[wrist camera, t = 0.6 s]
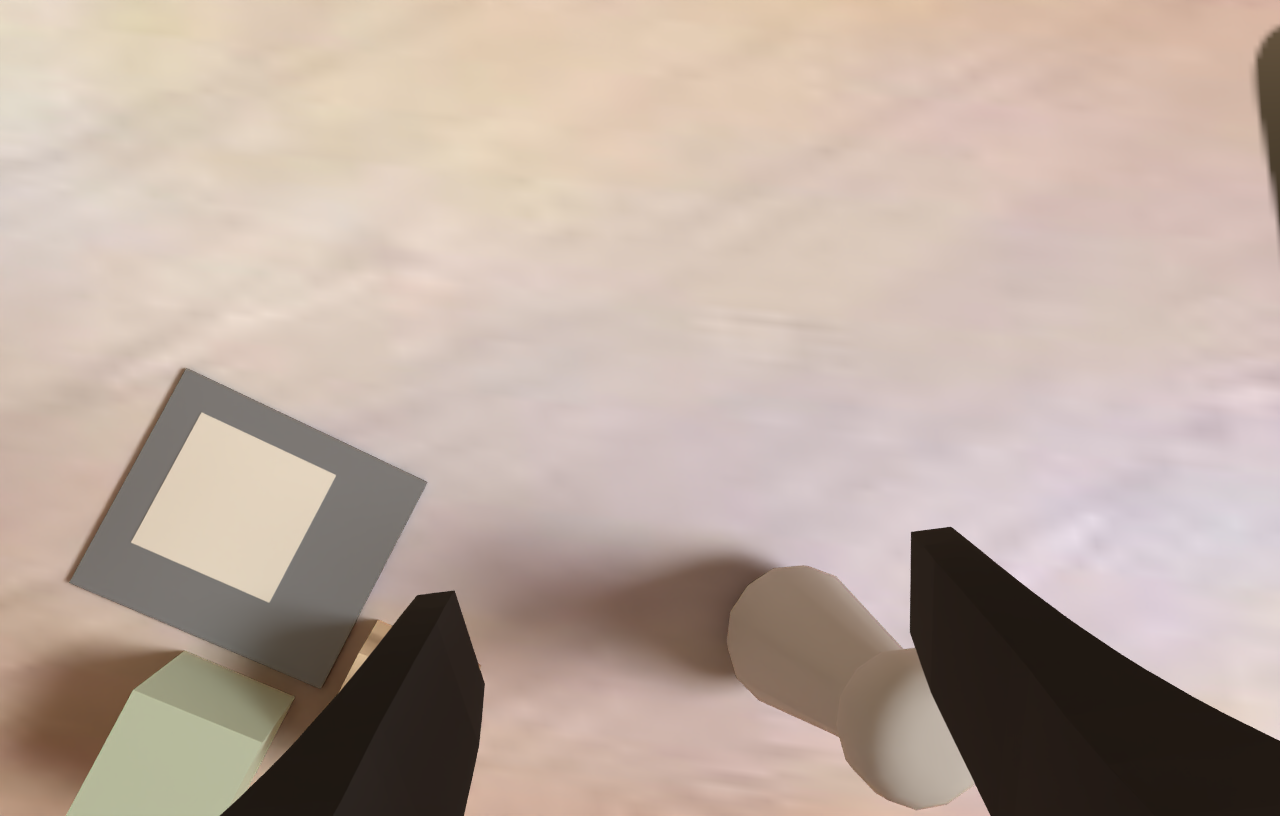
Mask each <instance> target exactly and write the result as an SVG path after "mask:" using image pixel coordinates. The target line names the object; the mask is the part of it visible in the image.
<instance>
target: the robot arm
mask: <svg viewBox="0 0 1280 816" xmlns="http://www.w3.org/2000/svg"><path fill="white" fill-rule="evenodd" d="M910 634H911V637H912V640H913V643H914V646H915V649H916V652H917V655H918V658H919V661H920V664H921V666H922V669H923V672H924V675H925V678H926V680H927V683H928V686H929V689H930V692H931V694H932V696H933V698H934V700H935V702H936V705H937V707H938V709H939V711H940V713H941V715H942V717H943V719H944V721H945V723H946V725H947V727H948V729H949V732H950V734H951V736H952V738H953V740H954V742H955V744H956V746H957V748H958V750H959V752H960V754H961V756H962V758H963V760H964V762H965V764H966V766H967V768H968V770H969V772H970V775H971V777H972V779H973V781H974V783H975V785H976V787H977V789H978V791H979V793H980V795H981V797H982V799H983V801H984V803H985V805H986V807H987V809H988V811H989V813H990V815H991V816H1280V741H1279V740H1277V739H1275V738H1273V737H1271V736H1269V735H1267V734H1265V733H1263V732H1261V731H1259V730H1257V729H1255V728H1253V727H1251V726H1248V725H1246V724H1244V723H1242V722H1240V721H1238V720H1236V719H1234V718H1232V717H1230V716H1228V715H1226V714H1224V713H1222V712H1221V711H1219V710H1217V709H1215V708H1213V707H1211V706H1209V705H1207V704H1205V703H1204V702H1202V701H1200V700H1198V699H1196V698H1194V697H1192V696H1191V695H1189V694H1187V693H1185V692H1184V691H1182V690H1180V689H1179V688H1177V687H1175V686H1173V685H1172V684H1170V683H1168V682H1166V681H1165V680H1163V679H1161V678H1160V677H1158V676H1156V675H1154V674H1153V673H1151V672H1149V671H1147V670H1146V669H1144V668H1142V667H1141V666H1139V665H1138V664H1136V663H1134V662H1133V661H1131V660H1130V659H1128V658H1126V657H1125V656H1123V655H1122V654H1120V653H1118V652H1117V651H1115V650H1114V649H1112V648H1111V647H1109V646H1108V645H1106V644H1105V643H1103V642H1102V641H1100V640H1099V639H1098V638H1096V637H1095V636H1093V635H1092V634H1090V633H1089V632H1087V631H1086V630H1084V629H1083V628H1081V627H1080V626H1078V625H1077V624H1075V623H1074V622H1073V621H1071V620H1070V619H1068V618H1067V617H1066V616H1064V615H1063V614H1062V613H1060V612H1059V611H1058V610H1056V609H1055V608H1054V607H1052V606H1051V605H1049V604H1048V603H1047V602H1045V601H1044V600H1043V599H1041V598H1040V597H1039V596H1037V595H1036V594H1035V593H1033V592H1032V591H1031V590H1030V589H1028V588H1027V587H1026V586H1024V585H1023V584H1022V583H1021V582H1019V581H1018V580H1017V579H1015V578H1014V577H1013V576H1012V575H1010V574H1009V573H1008V572H1007V571H1005V570H1004V569H1003V568H1002V567H1000V566H999V565H998V564H997V563H995V562H994V561H993V560H992V559H991V558H989V557H988V556H987V555H986V554H984V553H983V552H982V551H981V550H979V549H978V548H977V547H976V546H974V545H973V544H972V543H971V542H970V541H968V540H967V539H966V538H965V537H963V536H962V535H961V534H960V533H958V532H957V531H956V530H954V529H953V528H952V527H946V528H938V529H931V530H923V531H915V532H911V589H910ZM484 686H485V683H484V680H483V677H482V674H481V671H480V668H479V665H478V662H477V659H476V655H475V652H474V649H473V646H472V643H471V640H470V637H469V634H468V631H467V628H466V624H465V621H464V618H463V615H462V612H461V609H460V606H459V603H458V600H457V597H456V593H455V591H447V592H439V593H431V594H423V595H417V596H416V597H415V599H414V600H413V601H412V602H411V604H410V605H409V606H408V607H407V609H406V610H405V611H404V612H403V614H402V615H401V616H400V617H399V619H398V620H397V621H396V622H395V624H394V625H393V626H392V627H391V629H390V630H389V631H388V632H387V634H386V635H385V636H384V637H383V639H382V640H381V641H380V643H379V644H378V645H377V646H376V648H375V649H374V650H373V651H372V653H371V654H370V655H369V656H368V658H367V659H366V660H365V661H364V663H363V664H362V665H361V666H360V668H359V669H358V670H357V671H356V672H355V674H354V675H353V676H352V677H351V679H350V680H349V681H348V682H347V683H346V685H345V686H344V687H343V688H342V689H341V691H340V692H339V693H338V694H337V696H336V697H335V698H334V699H333V700H332V701H331V702H330V704H329V705H328V706H327V707H326V708H325V709H324V710H323V711H322V713H321V714H320V715H319V716H318V717H317V718H316V719H315V720H314V721H313V723H312V724H311V725H310V726H309V727H308V728H307V729H306V730H305V732H304V733H303V734H302V735H301V736H300V737H299V738H298V739H297V740H296V742H295V743H294V744H293V745H292V746H291V747H290V748H289V749H288V750H287V751H286V752H285V753H284V754H283V755H282V756H281V757H280V758H279V759H278V760H277V761H276V762H275V763H274V764H273V765H272V766H271V768H270V769H269V770H268V771H267V772H266V773H265V774H263V775H262V776H261V777H260V778H259V779H258V780H257V781H256V782H255V783H254V784H253V785H252V786H251V787H250V788H249V789H248V790H247V791H246V792H245V793H244V794H243V795H241V796H240V797H239V798H238V799H237V800H236V801H235V802H234V803H233V804H232V805H231V806H230V807H229V808H227V809H226V810H225V811H224V812H223V813H222V814H221V815H220V816H464V812H465V808H466V804H467V799H468V795H469V790H470V785H471V781H472V776H473V772H474V767H475V762H476V758H477V753H478V748H479V741H480V731H481V722H482V711H483V698H484Z"/></svg>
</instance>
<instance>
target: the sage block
mask: <svg viewBox="0 0 1280 816" xmlns="http://www.w3.org/2000/svg"><path fill="white" fill-rule="evenodd" d="M294 698H295V697H294V696H292V695H290V694H287V693H285V692H282V691H280V690H278V689H275V688H273V687H271V686H268V685H266V684H263V683H261V682H259V681H256V680H254V679H251V678H249V677H247V676H244V675H242V674H239V673H237V672H235V671H232V670H230V669H228V668H225V667H223V666H220V665H218V664H216V663H213V662H211V661H208V660H206V659H204V658H201V657H199V656H197V655H194V654H192V653H189V652H187V651H183V652H182V653H181V654H180V655H178V656H177V657H176V658H174V659H173V660H172V661H170V662H169V663H168V664H166V665H165V666H164V667H163V668H161V669H160V670H159V671H157V672H156V673H155V674H153V675H152V676H151V677H149V678H148V679H147V680H145V681H144V682H143V683H142V684H140V685H139V686H138V687H136V688H135V689H134V690H133V691H132V693H131V695H130V697H129V699H128V700H127V702H126V704H125V706H124V708H123V710H122V712H121V714H120V715H119V717H118V719H117V721H116V723H115V725H114V727H113V729H112V730H111V732H110V734H109V736H108V738H107V740H106V742H105V744H104V745H103V747H102V749H101V751H100V753H99V755H98V757H97V759H96V760H95V762H94V764H93V766H92V768H91V770H90V772H89V774H88V775H87V777H86V779H85V781H84V783H83V785H82V787H81V789H80V790H79V792H78V794H77V796H76V798H75V800H74V802H73V803H72V805H71V807H70V809H69V811H68V813H67V815H66V816H220V815H221V814H222V813H223V812H224V811H225V810H226V809H227V808H229V807H230V806H231V805H232V804H233V803H234V802H235V801H236V800H237V799H238V798H239V797H240V796H241V795H243V794H244V793H245V792H246V791H247V789H248V787H249V785H250V783H251V781H252V779H253V777H254V776H255V774H256V772H257V770H258V768H259V766H260V764H261V762H262V760H263V758H264V756H265V754H266V752H267V750H268V748H269V747H270V745H271V743H272V741H273V739H274V737H275V735H276V733H277V731H278V729H279V727H280V725H281V723H282V721H283V719H284V718H285V716H286V714H287V712H288V710H289V708H290V706H291V704H292V702H293V700H294Z"/></svg>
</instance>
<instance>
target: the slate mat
mask: <svg viewBox="0 0 1280 816" xmlns="http://www.w3.org/2000/svg"><path fill="white" fill-rule="evenodd" d="M426 484H427V482H426V481H424V480H422V479H420V478H418V477H416V476H414V475H411V474H409V473H407V472H405V471H403V470H401V469H399V468H397V467H395V466H392V465H390V464H388V463H386V462H384V461H382V460H380V459H378V458H376V457H373V456H371V455H369V454H367V453H365V452H363V451H361V450H359V449H357V448H354V447H352V446H350V445H348V444H346V443H344V442H342V441H340V440H338V439H335V438H333V437H331V436H329V435H327V434H325V433H323V432H321V431H319V430H316V429H314V428H312V427H310V426H308V425H306V424H304V423H302V422H300V421H297V420H295V419H293V418H291V417H289V416H287V415H285V414H283V413H281V412H278V411H276V410H274V409H272V408H270V407H268V406H266V405H264V404H262V403H259V402H257V401H255V400H253V399H251V398H249V397H247V396H245V395H243V394H241V393H238V392H236V391H234V390H232V389H230V388H228V387H226V386H224V385H222V384H219V383H217V382H215V381H213V380H211V379H209V378H207V377H205V376H203V375H200V374H198V373H196V372H194V371H192V370H190V369H186V370H185V372H184V373H183V375H182V377H181V379H180V381H179V383H178V384H177V386H176V388H175V390H174V392H173V394H172V395H171V397H170V399H169V401H168V403H167V405H166V406H165V408H164V410H163V412H162V414H161V416H160V417H159V419H158V421H157V423H156V425H155V427H154V428H153V430H152V432H151V434H150V436H149V438H148V439H147V441H146V443H145V445H144V447H143V449H142V450H141V452H140V454H139V456H138V458H137V460H136V461H135V463H134V465H133V467H132V469H131V471H130V472H129V474H128V476H127V478H126V480H125V482H124V483H123V485H122V487H121V489H120V491H119V492H118V494H117V496H116V498H115V500H114V502H113V503H112V505H111V507H110V509H109V511H108V513H107V514H106V516H105V518H104V520H103V522H102V524H101V525H100V527H99V529H98V531H97V533H96V535H95V536H94V538H93V540H92V542H91V544H90V546H89V547H88V549H87V551H86V553H85V555H84V557H83V558H82V560H81V562H80V564H79V566H78V568H77V569H76V571H75V573H74V575H73V577H72V579H71V580H70V582H69V583H71V584H73V585H76V586H78V587H81V588H83V589H85V590H88V591H90V592H92V593H95V594H97V595H99V596H102V597H104V598H107V599H109V600H111V601H114V602H116V603H118V604H121V605H123V606H125V607H128V608H130V609H133V610H135V611H137V612H140V613H142V614H144V615H147V616H149V617H151V618H154V619H156V620H159V621H161V622H163V623H166V624H168V625H170V626H173V627H175V628H178V629H180V630H182V631H185V632H187V633H189V634H192V635H194V636H196V637H199V638H201V639H204V640H206V641H208V642H211V643H213V644H215V645H218V646H220V647H222V648H225V649H227V650H230V651H232V652H234V653H237V654H239V655H241V656H244V657H246V658H248V659H251V660H253V661H256V662H258V663H260V664H263V665H265V666H267V667H270V668H272V669H274V670H277V671H279V672H282V673H284V674H286V675H289V676H291V677H293V678H296V679H298V680H300V681H303V682H305V683H308V684H310V685H312V686H315V687H317V688H319V689H321V688H322V686H323V684H324V682H325V680H326V678H327V676H328V674H329V672H330V671H331V669H332V667H333V665H334V663H335V661H336V659H337V657H338V655H339V653H340V651H341V649H342V647H343V645H344V643H345V641H346V639H347V637H348V636H349V634H350V632H351V630H352V628H353V626H354V624H355V622H356V620H357V618H358V616H359V614H360V612H361V610H362V608H363V606H364V604H365V603H366V601H367V599H368V597H369V595H370V593H371V591H372V589H373V587H374V585H375V583H376V581H377V579H378V577H379V575H380V573H381V571H382V569H383V568H384V566H385V564H386V562H387V560H388V558H389V556H390V554H391V552H392V550H393V548H394V546H395V544H396V542H397V540H398V538H399V536H400V534H401V533H402V531H403V529H404V527H405V525H406V523H407V521H408V519H409V517H410V515H411V513H412V511H413V509H414V507H415V505H416V503H417V501H418V500H419V498H420V496H421V494H422V492H423V490H424V488H425V486H426Z"/></svg>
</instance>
